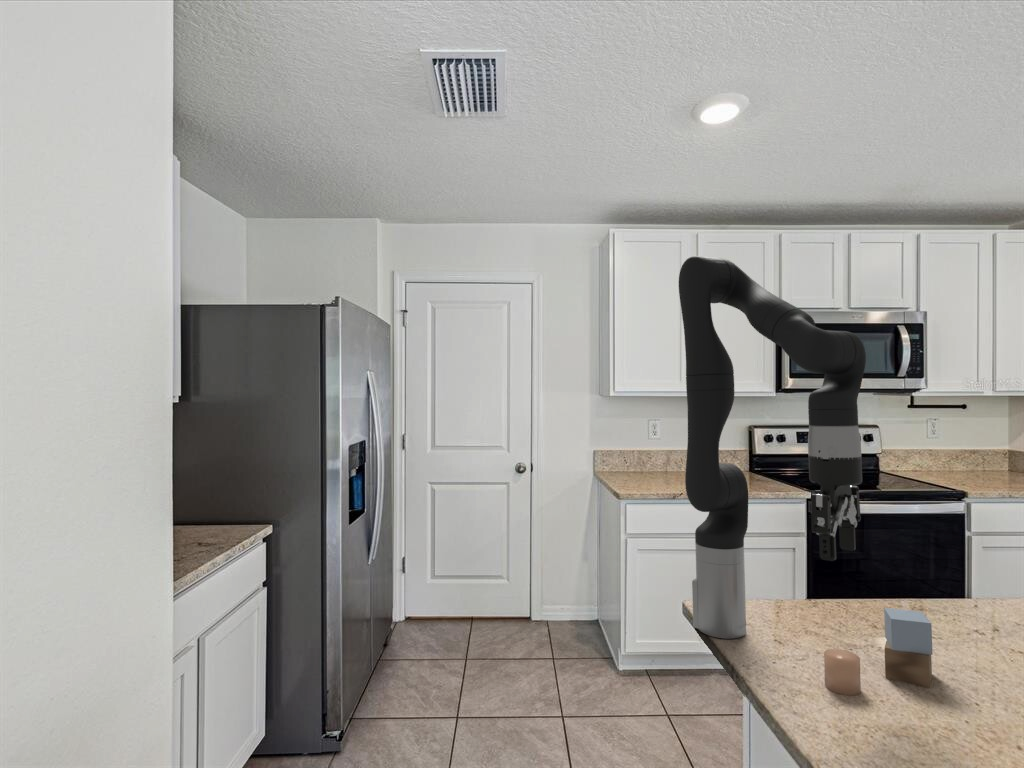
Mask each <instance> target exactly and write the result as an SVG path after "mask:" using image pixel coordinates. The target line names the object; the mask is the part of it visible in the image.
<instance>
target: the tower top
mask: <svg viewBox="0 0 1024 768" xmlns="http://www.w3.org/2000/svg"><path fill="white" fill-rule="evenodd" d="M883 612H884V613H883V614H884V637H885V639H886V641H888V643H889V645H890V647H891V649H892V650H898V651H906V652H913V653H921V654H929V655H931V656H933V653H934V652H933V630H932V622H931V621H930V619H929V618H928V617H927V616H926V614H925V613H924V612H923V611H921V610H912V609H911V610H909V609H902V608H901V609H899V608H891V607H884V609H883Z"/></svg>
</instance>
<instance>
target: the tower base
mask: <svg viewBox="0 0 1024 768" xmlns="http://www.w3.org/2000/svg"><path fill="white" fill-rule="evenodd" d="M883 648H884V672H885V673H884V674H885V677H884V678H885V679H888V680H893V681H896V682H901V683H905V684H910V685H912V686H914V685H915V686H918V687H923V688H926V689H931V686H932V679H933V667H932V663H933V662H932V655H929V654H921V653H913V652H906V651H898V650H892V649H891V647H890V645H889V643H888V641H887V640H886V641H885V644H884V647H883Z"/></svg>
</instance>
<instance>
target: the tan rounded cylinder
mask: <svg viewBox="0 0 1024 768" xmlns="http://www.w3.org/2000/svg"><path fill="white" fill-rule="evenodd" d="M823 651H824V652H823V663H824V665H823V666H824V668H823V669H824V686H825V688H827V689H828V690H829V691H831V692H833V693H836V694H840V695H843V696H844V695H845V696H857V695H860V694H861V693H862V683H861V680H862V679H861V658H860V657H859V655H857V654H856V653H854V652H851V651H849V650H846V649H839V648H829V649H826V650H823Z"/></svg>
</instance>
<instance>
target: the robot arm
mask: <svg viewBox="0 0 1024 768" xmlns="http://www.w3.org/2000/svg"><path fill="white" fill-rule="evenodd" d="M678 296H679V303H680V310H681V316H682V323H683V333H684V334H683V335H684V349H685V385H686V387H685V388H686V401H687V402H686V403H687V405H686V406H687V446H686V447H687V449H686V464H685V474H684V475H685V477H684V481H685V482H684V483H685V484H684V485H685V492H686V496H687V499H688V501H689V503H690V504H691V506H692V507H693V508H694V509H695V510H697V511H699V512H703V513H708V514H707V517H706V519H705V520H704V521H703V522H702V523H701V524H700V525H698V526H697V528H696V529H695V532H694V533H695V534H694V535H695V537H694V540H695V542H694V543H695V572H696V577H695V578H694V579H693V580H691V585H692V586H691V588H692V589H691V590H692V591H691V593H692V594H691V595H692V626H693V628H695V629H697V630H698V631H699V632H701V633H703V634H705V635H706V636H710V637H713V638H718V639H720V638H721V639H727V640H729V639H733V640H734V639H738V638H743V637H744V636H745V635H746V634H747V614H746V613H747V610H746V608H747V607H746V605H747V604H746V579H745V578H746V573H745V569H746V568H745V567H746V566H745V543H744V542H745V541H744V540H745V536H746V533H747V530H748V527H749V486H748V481H747V478H746V476H745V474H744V472H743V470H742V469H741V468H740V467H738V466H737V465H736V464H733V463H727V462H721V463H720V453H719V452H720V451H719V450H720V441H721V436H722V432H723V430H724V427H725V425H726V422H727V421H728V418H729V415H730V414H731V410H732V409H733V405H734V402H735V401H734V400H735V373H734V372H735V371H734V366H733V361H732V359H731V357H730V355H729V352H728V351H727V349H726V348H725V346H724V344H723V342H722V340H721V338H720V337H719V335H718V332H717V331H716V329H715V324H714V322H713V316H712V305H711V304H723V305H727V306H730V307H732V308H735V309H737V310H739V311H740V312H742V313H743V314H744V315H745V317H746V319H747V321H748V323H749V324H750V325H751V327H753V329H754V330H755V331H757V333H759V334H760V335H762V336H763V337H765V338H766V339H768V340H769V341H771V342H773V343H774V344H775V345H777V346H779V347H781V349H782V350H783V352H785V354H786V355H787V356H788V357H789V359H791V361H793V363H795V364H796V365H797V366H799V367H800V368H801V369H803V370H804V371H807V372H810V373H812V374H819V375H820V374H821V375H824V377H823V381H822V382H823V383H822V386H821V387H820V388H818V389H816V390H813V391H812V392H811V393H810V394H809V395H808V401H807V403H808V405H807V407H808V432H807V433H808V435H807V453H808V454H807V455H808V456H807V457H808V458H807V459H808V479H809V481H810V482H811V483H814V484H818V485H819V486H820V489H819V490H820V491H819V493H811V495H810V521H811V523H810V528H811V529H810V530H811V533H814V534H816V535H818V545H819V547H818V548H819V549H818V552H819V558H820V559H821V560H824V561H829V562H833V561H836V560H837V539H836V538H837V537H836V533H837V529H838V534H839V536H838V537H839V548H840V549H841V550H844V551H849V552H853V551H856V549H857V548H856V547H857V545H856V528H857V526H858V522H861V519H862V517H861V504H860V503H861V502H860V500H861V499H860V487H859V486H858V485H862V483H863V466H862V464H863V461H862V442H861V435H860V429H859V409H858V406H859V405H858V398H859V397H858V396H859V394H860V392H861V391H860V390H861V387H862V383H863V379H864V373H865V369H866V363H867V353H866V349H865V345H864V343H863V341H862V340H861V338H860V337H859V335H857V334H855V333H854V332H850V331H847V330H846V331H845V330H828V329H827V330H825V329H823V328H820V327H817V326H816V322H815V320H814V318H813V317H812V316H811V315H810V314H809V313H807V312H806V311H803V310H802V309H800V308H798V307H797V306H795V305H793V304H791V303H790V302H787V301H786V300H784V299H782V298H780V297H778V296H776V295H775V294H773V293H772V292H770V291H768V290H767V289H766V288H764V287H763V286H761V285H760V284H759V283H757V282H756V281H755V280H754V279H752V278H751V277H750V276H749V275H748V274H747V273H746V272H745V271H743V270H742V269H741V268H740V267H739V266H738V265H737V264H735V263H734V262H732V261H730V260H729V259H726V258H721V257H714V256H711V257H710V256H702V255H693V256H690V257H688V258H686V259H685V261H684V262H683V263H682V265H681V267H680V270H679V274H678Z"/></svg>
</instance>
